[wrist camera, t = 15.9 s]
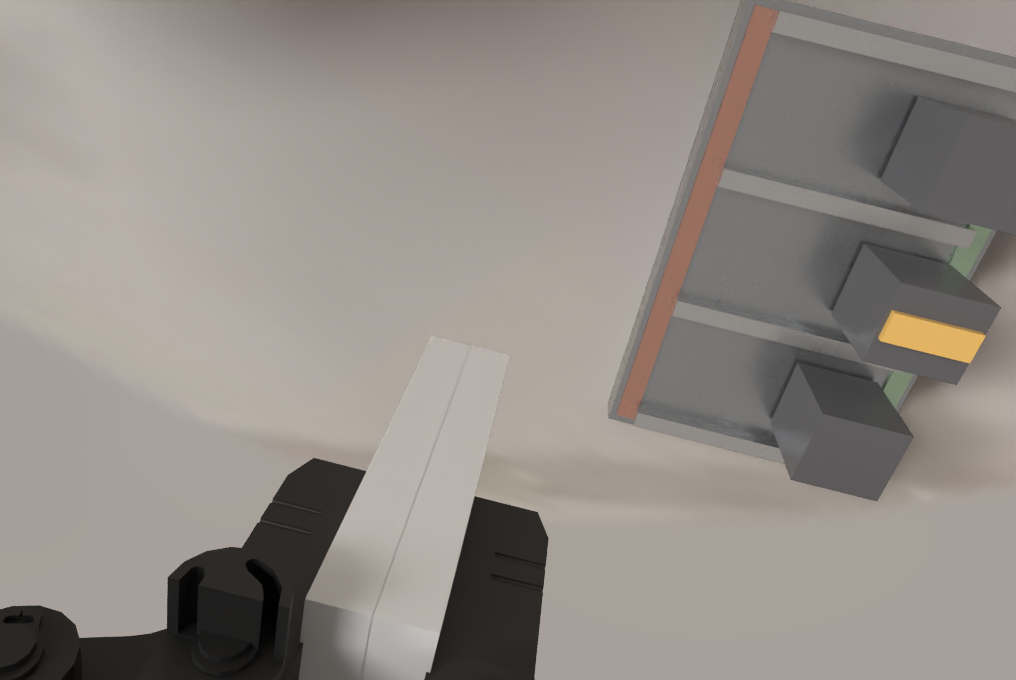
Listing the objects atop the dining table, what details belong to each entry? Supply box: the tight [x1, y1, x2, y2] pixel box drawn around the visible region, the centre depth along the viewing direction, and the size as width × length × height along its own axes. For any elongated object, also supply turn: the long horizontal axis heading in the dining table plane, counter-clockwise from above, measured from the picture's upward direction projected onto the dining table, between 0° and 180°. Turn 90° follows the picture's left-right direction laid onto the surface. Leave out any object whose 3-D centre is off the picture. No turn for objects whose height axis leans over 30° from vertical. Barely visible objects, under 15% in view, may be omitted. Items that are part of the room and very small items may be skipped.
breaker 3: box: [831, 243, 1001, 385], centre depth 40 cm, size 5×4×6 cm
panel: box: [608, 0, 1016, 464], centre depth 44 cm, size 17×26×3 cm, turn 168°
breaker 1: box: [770, 363, 913, 501], centre depth 44 cm, size 5×4×6 cm
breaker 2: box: [880, 96, 1016, 235], centre depth 37 cm, size 5×4×6 cm
